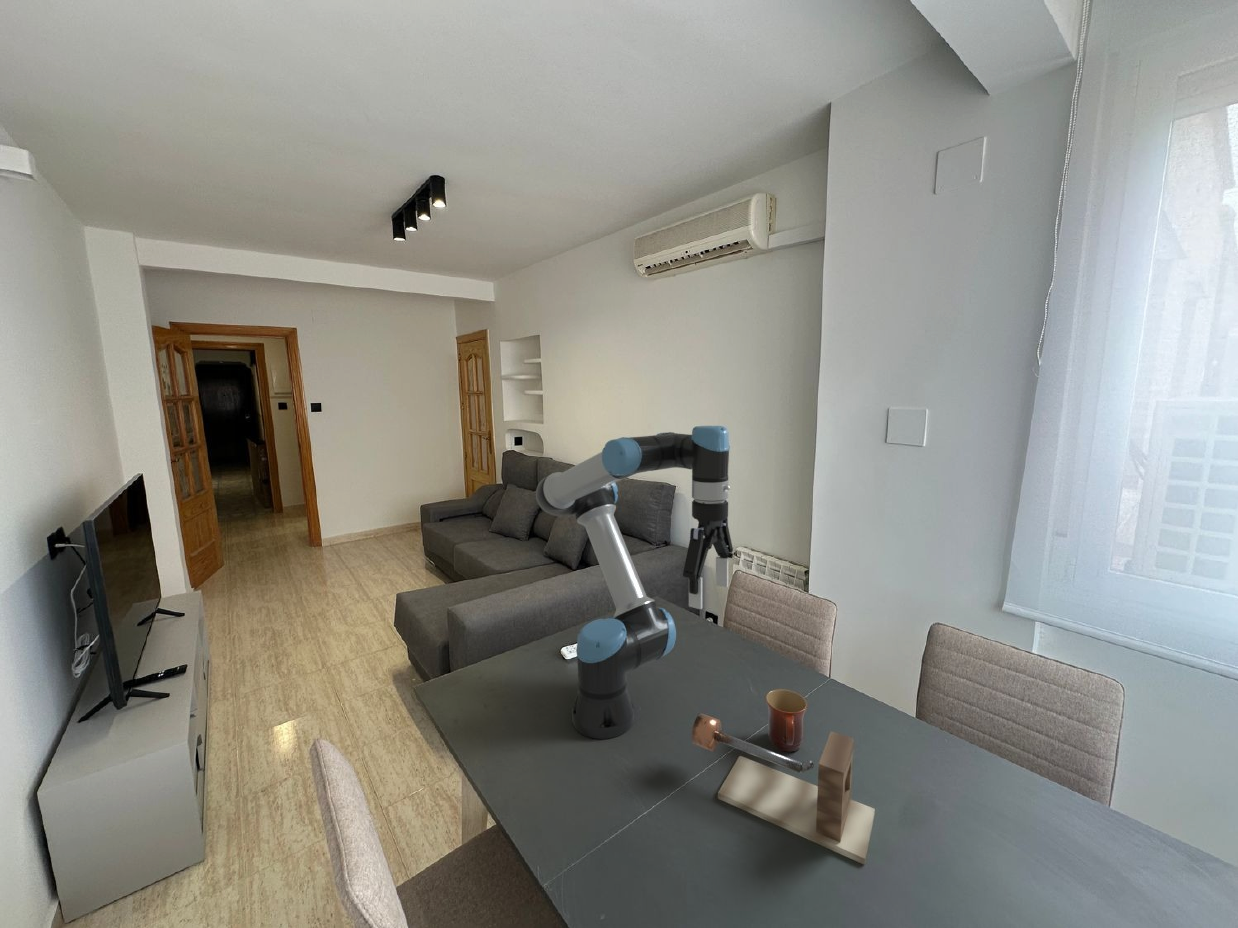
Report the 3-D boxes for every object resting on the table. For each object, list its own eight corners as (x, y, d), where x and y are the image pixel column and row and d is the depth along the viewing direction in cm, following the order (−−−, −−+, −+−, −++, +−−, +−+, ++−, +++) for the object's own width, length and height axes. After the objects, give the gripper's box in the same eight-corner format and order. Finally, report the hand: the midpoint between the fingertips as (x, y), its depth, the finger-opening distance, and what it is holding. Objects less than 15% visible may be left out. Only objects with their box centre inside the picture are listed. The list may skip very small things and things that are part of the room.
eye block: (815, 831, 89) (818, 763, 87) (828, 794, 98) (830, 731, 96) (840, 842, 87) (843, 772, 85) (850, 803, 95) (853, 738, 93)
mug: (763, 727, 119) (764, 687, 117) (802, 732, 117) (803, 691, 116) (767, 764, 107) (768, 719, 106) (811, 769, 105) (812, 724, 104)
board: (717, 798, 99) (717, 792, 98) (739, 760, 108) (739, 755, 108) (864, 864, 84) (864, 858, 84) (874, 814, 94) (874, 808, 94)
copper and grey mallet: (688, 748, 104) (688, 721, 104) (700, 732, 109) (700, 706, 109) (808, 797, 91) (810, 767, 90) (816, 776, 96) (817, 748, 95)
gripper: (700, 514, 94) (700, 622, 97) (748, 491, 114) (746, 581, 117) (665, 509, 98) (666, 613, 101) (717, 488, 119) (716, 574, 122)
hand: (709, 596), depth 109 cm, fingers open, 13 cm apart
